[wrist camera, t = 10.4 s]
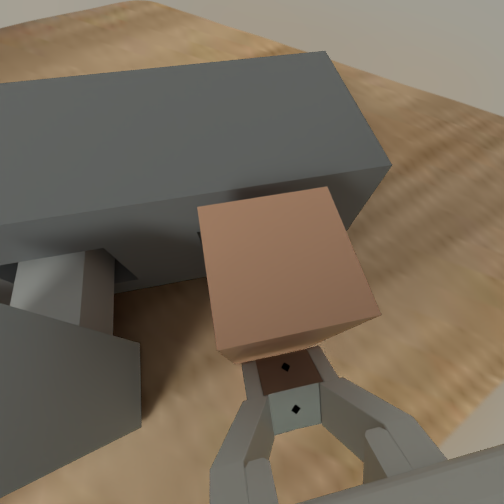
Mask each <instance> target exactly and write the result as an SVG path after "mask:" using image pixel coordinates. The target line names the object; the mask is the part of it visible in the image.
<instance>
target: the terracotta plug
mask: <svg viewBox="0 0 504 504" xmlns="http://www.w3.org/2000/svg"><path fill="white" fill-rule="evenodd" d="M197 210H198V217H199V224H200V231H201V238H202V245H203V253H204V260H205V267H206V274H207V281H208V289H209V296H210V303H211V310H212V317H213V324H214V332H215V339H216V346H217V351H218V352H220V353H221V354H222V355H223V356H225V357H226V358H227V359H229V360H230V361H231V362H232V363H234V364H238V363H243V362H247V361H252V360H256V359H261V358H265V357H270V356H274V355H278V354H283V353H287V352H292V351H296V350H301V349H305V348H307V347H310V346H312V345H314V344H316V343H319V342H321V341H323V340H326V339H328V338H330V337H332V336H335V335H337V334H339V333H341V332H344V331H346V330H348V329H351V328H353V327H355V326H357V325H360V324H362V323H364V322H366V321H369V320H371V319H373V318H376V317H378V316H380V315H381V313H380V310H379V308H378V305H377V303H376V301H375V298H374V296H373V294H372V291H371V289H370V287H369V284H368V282H367V279H366V277H365V275H364V272H363V270H362V268H361V265H360V263H359V260H358V258H357V256H356V253H355V251H354V249H353V246H352V244H351V241H350V239H349V237H348V234H347V232H346V230H345V227H344V225H343V222H342V220H341V218H340V215H339V213H338V211H337V208H336V206H335V204H334V201H333V199H332V196H331V194H330V192H329V189H328V187H320V188H314V189H308V190H301V191H295V192H289V193H282V194H276V195H270V196H263V197H257V198H251V199H244V200H238V201H232V202H225V203H219V204H213V205H206V206H200V207H197Z"/></svg>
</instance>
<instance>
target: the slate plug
mask: <svg viewBox="0 0 504 504" xmlns="http://www.w3.org/2000/svg"><path fill="white" fill-rule="evenodd" d="M114 271H115V258H114V257H113V256H112V255H111V254H110V253H109V252H108V251H106V250H105V249H104V248H100V249H94V250H88V251H82V252H76V253H70V254H64V255H58V256H52V257H46V258H40V259H34V260H28V261H22V262H18V267H17V272H16V277H15V282H14V287H13V292H12V297H11V302H10V306H8V305H5V304H1V303H0V498H1V497H3V496H5V495H7V494H9V493H11V492H13V491H15V490H17V489H19V488H21V487H23V486H25V485H27V484H29V483H31V482H33V481H35V480H37V479H39V478H41V477H43V476H45V475H47V474H49V473H51V472H53V471H55V470H57V469H59V468H61V467H63V466H65V465H67V464H69V463H71V462H73V461H75V460H77V459H79V458H81V457H83V456H85V455H87V454H89V453H91V452H93V451H95V450H97V449H99V448H101V447H103V446H105V445H107V444H109V443H111V442H113V441H115V440H117V439H119V438H121V437H123V436H125V435H127V434H129V433H131V432H133V431H135V430H137V429H139V428H141V373H140V343H137V342H134V341H130V340H127V339H124V338H120V337H117V336H113V310H114Z"/></svg>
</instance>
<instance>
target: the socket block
mask: <svg viewBox="0 0 504 504" xmlns="http://www.w3.org/2000/svg"><path fill="white" fill-rule="evenodd" d="M391 166H392V164H391V162H390V160H389V159H388V157H387V155H386V154H385V152H384V150H383V148H382V147H381V145H380V143H379V142H378V140H377V138H376V137H375V135H374V133H373V131H372V130H371V128H370V126H369V125H368V123H367V121H366V119H365V118H364V116H363V114H362V113H361V111H360V109H359V108H358V106H357V104H356V102H355V101H354V99H353V97H352V96H351V94H350V92H349V90H348V89H347V87H346V85H345V84H344V82H343V80H342V79H341V77H340V75H339V73H338V72H337V70H336V68H335V67H334V65H333V63H332V61H331V60H330V58H329V56H328V55H327V53H326V51H319V52H309V53H299V54H290V55H280V56H270V57H260V58H250V59H240V60H230V61H220V62H210V63H200V64H190V65H180V66H170V67H160V68H150V69H140V70H130V71H120V72H110V73H100V74H90V75H80V76H70V77H60V78H50V79H40V80H30V81H20V82H10V83H0V303H1V304H5V305H8V306H10V302H11V297H12V292H13V287H14V282H15V277H16V272H17V267H18V262H22V261H28V260H34V259H40V258H46V257H52V256H58V255H64V254H70V253H76V252H82V251H88V250H94V249H100V248H104V249H105V250H106V251H108V252H109V253H110V254H111V255H112V256H113V257H114V258H115V271H114V294H115V293H121V292H126V291H131V290H137V289H142V288H148V287H153V286H158V285H164V284H169V283H174V282H180V281H185V280H190V279H196V278H201V277H206V276H207V274H206V267H205V260H204V253H203V245H202V238H201V231H200V224H199V217H198V210H197V207H200V206H206V205H213V204H219V203H225V202H232V201H238V200H244V199H251V198H257V197H263V196H270V195H276V194H282V193H289V192H295V191H301V190H308V189H314V188H320V187H328V189H329V192H330V194H331V196H332V199H333V201H334V204H335V206H336V208H337V211H338V213H339V215H340V218H341V220H342V222H343V225H344V227H345V230H346V231H347V229H348V228H349V227H350V225H351V224H352V222H353V221H354V219H355V218H356V216H357V215H358V214H359V212H360V211H361V209H362V208H363V206H364V205H365V204H366V202H367V201H368V199H369V198H370V196H371V195H372V193H373V192H374V191H375V189H376V188H377V186H378V185H379V183H380V182H381V180H382V179H383V178H384V176H385V175H386V173H387V172H388V170H389V169H390V167H391Z"/></svg>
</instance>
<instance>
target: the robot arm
mask: <svg viewBox="0 0 504 504" xmlns="http://www.w3.org/2000/svg"><path fill="white" fill-rule="evenodd" d="M242 371H243V377H244V383H245V390H246V396H247V400H246V401H243V403H242V405H241V407H240V409H239V411H238V413H237V415H236V417H235V419H234V421H233V423H232V425H231V427H230V429H229V431H228V434H227V436H226V438H225V440H224V442H223V444H222V446H221V448H220V450H219V452H218V454H217V456H216V458H215V460H214V462H213V464H212V466H211V469H210V504H278V499H277V494H276V490H275V485H274V480H273V475H272V471H271V466H270V461H268V460H269V457H270V453H271V449H272V445H273V441H274V435H278V434H281V433H285V432H288V431H292V430H295V429H299V428H303V427H308V426H312V425H317V424H321V423H322V425H323V426H324V427H325V428H326V429H327V430H328V431H330V432H331V433H332V434H333V435H334V436H335V437H336V438H337V439H338V440H339V441H341V442H342V443H343V444H344V445H345V446H346V447H347V448H348V449H349V450H351V451H352V452H353V453H354V454H355V455H356V456H357V457H358V458H359V459H360V460H362V461H363V462H364V470H363V485H359V486H356V487H352V488H349V489H345V490H342V491H338V492H335V493H331V494H328V495H325V496H321V497H318V498H314V499H311V500H307V501H304V502H300V503H297V504H504V444H502V445H498V446H495V447H491V448H488V449H484V450H481V451H477V452H474V453H470V454H467V455H463V456H460V457H456V458H453V459H449V460H447V458H446V457H445V456H444V455H443V453H442V452H441V451H440V450H439V448H438V447H437V446H436V445H435V443H434V442H433V441H432V440H431V439H430V437H429V436H428V435H427V434H426V432H425V431H424V430H423V429H422V427H421V426H420V425H419V424H418V422H417V421H416V420H415V419H414V417H412V416H411V415H409V414H407V413H405V412H403V411H402V410H400V409H398V408H396V407H395V406H393V405H391V404H389V403H388V402H386V401H384V400H382V399H380V398H379V397H377V396H375V395H373V394H372V393H370V392H368V391H366V390H364V389H363V388H361V387H359V386H357V385H356V384H354V383H352V382H350V381H349V380H347V379H345V378H339V377H338V376H337V374H336V372H335V371H334V369H333V367H332V366H331V364H330V363H329V361H328V359H327V358H326V356H325V354H324V353H323V351H322V350H321V348H320V347H319V346H315V347H311V348H307V349H303V350H299V351H294V352H290V353H286V354H282V355H277V356H272V357H267V358H262V359H257V360H254V361H248V362H243V363H242Z"/></svg>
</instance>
